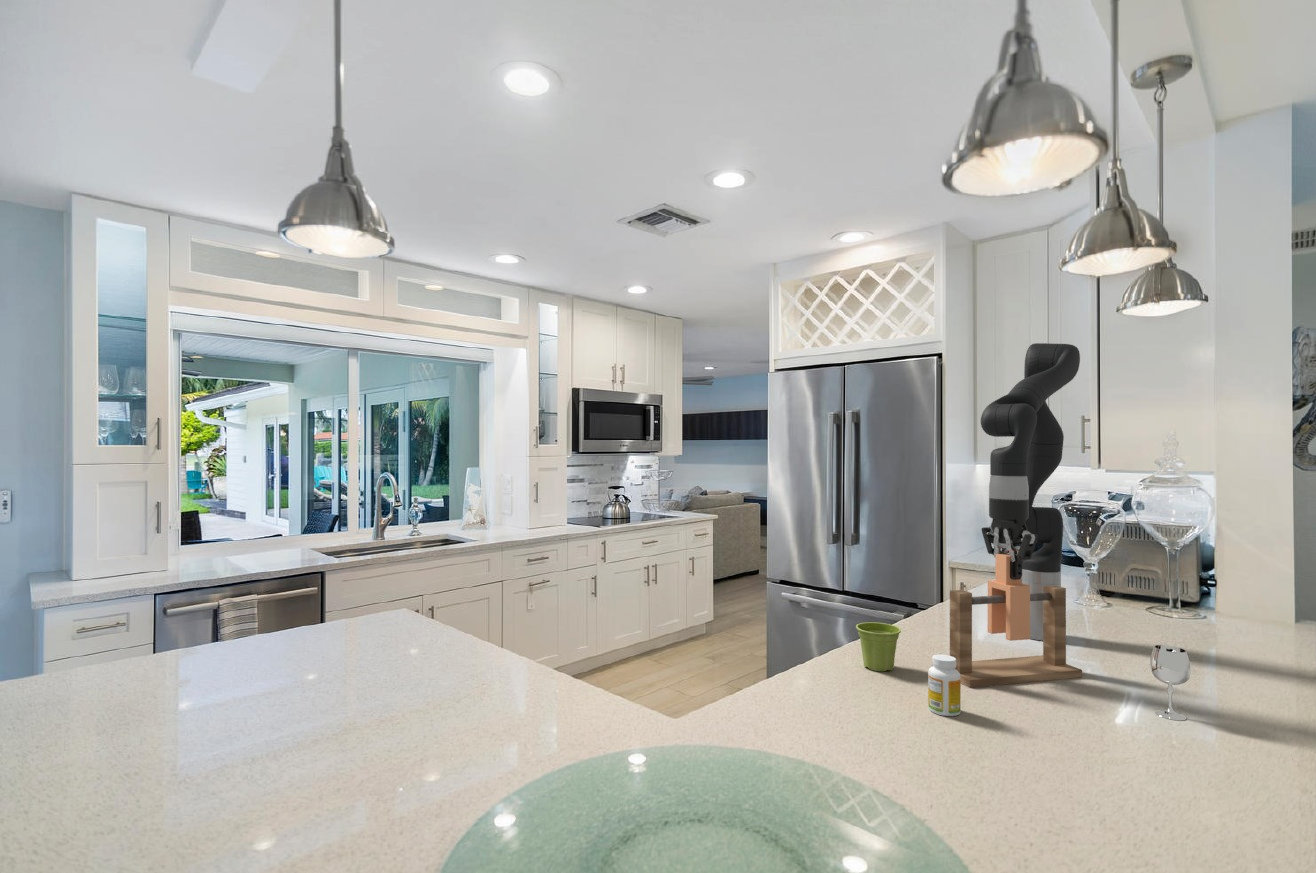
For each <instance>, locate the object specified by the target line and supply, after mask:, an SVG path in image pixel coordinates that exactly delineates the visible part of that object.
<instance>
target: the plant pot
mask: <svg viewBox="0 0 1316 873" xmlns="http://www.w3.org/2000/svg"><path fill="white" fill-rule="evenodd" d="M855 629H856V630H857V631H858V632H857V633H858V634H857V635H858V636H859V639H860V646H861V654H862V655H861V656H862V661H863V666H864V668H868V669H869V670H871V671H874V672H887V671H893V670H894V666H895V660H896V658H895V656H896V651H897V642H898V640H899V636H900V634H901V632H902V629H901V628H900V627H899V626H896V625H893V624H889V623H885V622H871V621H870V622H860V623H858V624H856V625H855Z"/></svg>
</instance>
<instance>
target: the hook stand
mask: <svg viewBox="0 0 1316 873" xmlns="http://www.w3.org/2000/svg"><path fill="white" fill-rule="evenodd" d="M1066 595H1067V588H1066V587H1063V586H1061V587H1059V586H1055V585H1050V586H1043V593H1034V594H1030V601H1043V641H1042V642H1043V643H1042V646H1043V648H1042V651H1043V652H1042V653H1043V654H1042V655H1033V656H1032V655H1030V656H1020V657H1019V656H1017V657H1008V658H1007V657H1005V658H994V659H984V660H983V659H982V660H973V605H975V606H976V605H988V604H994V603H1006V595H997V596H988V595H983V596H982V595H981V596H980V595H979V596H973V593H972V592H970V591H966V590H963V589H953V590H949V656H952V657H954V658H956V668H955V669H956V670H957V671H958V672H959V673H960V678H961V684H962V685H963V686H965V687H968V688H969V689H970V688H972V689H973V688H980V687H991V686H1000V685H1001V686H1002V685H1010V684H1011V685H1012V684H1022V683H1024V684H1025V683H1032V682H1033V683H1034V682H1044V681H1054V680H1064V679H1075V678H1083V670H1082V669H1081V668H1079V667H1076V666H1073V665H1071V664H1068V663H1067V625H1066V624H1067V603H1066V602H1067V596H1066Z"/></svg>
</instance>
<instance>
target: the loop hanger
mask: <svg viewBox="0 0 1316 873" xmlns="http://www.w3.org/2000/svg"><path fill="white" fill-rule="evenodd" d="M1010 562H1012V561H1011V560H1010V553H1007V554H996V558H995V569H994V570H995V574H994V575H995V579H992V580H991V579H990V580H989V579H988V580H987V596H997V595H1006V603H994V604H987V633H988V634H991V635H993V634H1005V640H1007V641H1013V642H1014V641H1023V640H1025V641H1027V640H1031V638H1030V586H1029V585H1026V584H1022V577H1021V579H1019V580H1013V579H1011V578H1010Z"/></svg>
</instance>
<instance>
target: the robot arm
mask: <svg viewBox="0 0 1316 873" xmlns="http://www.w3.org/2000/svg"><path fill="white" fill-rule="evenodd" d="M1024 358H1025V359H1024V371H1023V372H1024V373H1023V374H1024V375H1023V376H1024V378H1023V379H1021V380H1020V381H1018V382H1017V383H1016V384H1015V385H1014V386H1013V387H1012V388H1011V390H1010V391H1009V392H1008V394H1005V395H1002V396H1001V397H999V398H998V399H996V400H993V401H992V402H991V403H989V404H988V405H987V406H986V407H985V408H984V410H983V411H982V412H981V413H982V414H981V415H980V426H981V428H982V430H983V431H984V433H985V434H986V435H988V436H991V437H995V438H999V437H1001V438H1003V437H1005V438H1006V437H1008V438H1009V437H1012V438H1013V440H1012V442H1010V444H1009V445H1007V446H1004V447H998V448H995V449H992V450H991V452H990V456H989V457H990V460H989V463H990V478H989V483H988V516H989V518H991V519H992V520H991V524H990V526H987V527H982V528H981V533H982V537H983V540H984V544H985V546H986V550H987V554H989V555H992V556H993V558H995V559H996V554H1010V560H1011V561H1012V562H1010V578H1011V579H1013V580H1019V579H1021V577H1022V584H1026V585H1029V586H1030V594H1034V593H1043V586H1050V585H1055V586H1059V587H1062V560H1063V557H1062V556H1063V537H1064V519H1063V515H1062V513H1061V511H1060V510H1059V509H1058V508H1056V507H1048V506H1042V507H1041V506H1033V505H1034V501H1035V499H1036V497H1037V493H1038V492H1039V490H1040V488H1041V487H1042V486H1043V484H1044V483H1045V482H1046V481H1048V479H1049V478H1050V477H1051V476H1052V474H1054V472H1055V471H1056V470H1057V468H1058V467H1059V465H1060V463H1061V461H1062V458H1063V450H1064V449H1063V448H1064V438H1065V436H1064V432H1063V428H1062V426H1061V425H1060V424H1059V421H1058V420H1057V418H1056V416H1055V415H1054V414H1053V412H1052V410H1051V409H1050V407H1049V405H1048V403H1047V399H1049V398H1050V397H1051V396H1053V394H1054V395H1055V393H1057V392H1058V391H1060V390H1061V389H1062V388H1064V387H1065V386H1066V385H1067V384H1069V383H1070V382H1072V380H1074V378H1075V377H1076V376H1077V374H1078V371H1079V368H1080V362H1081V353H1080V351H1079V348H1078V347H1077V346H1076V345H1073V344H1069V343H1043V342H1041V343H1038V342H1037V343H1032V344H1031V345H1029V346H1028V348H1027V350H1026V353H1025V357H1024ZM1037 544H1043V546H1042V547H1040V548H1039V549H1038V550H1037V551H1035V547H1036V545H1037ZM1031 639H1032V640H1037V641H1042V642H1043V601H1030V640H1031Z"/></svg>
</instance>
